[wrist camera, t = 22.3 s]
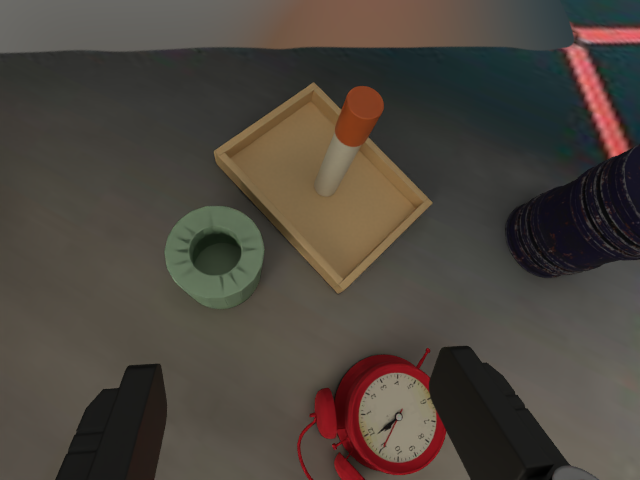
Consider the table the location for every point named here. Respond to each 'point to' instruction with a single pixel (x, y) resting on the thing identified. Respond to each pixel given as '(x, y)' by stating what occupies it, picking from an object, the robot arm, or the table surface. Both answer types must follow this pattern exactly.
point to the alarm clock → (380, 418)
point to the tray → (301, 197)
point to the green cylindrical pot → (215, 256)
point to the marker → (348, 137)
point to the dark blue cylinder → (581, 221)
